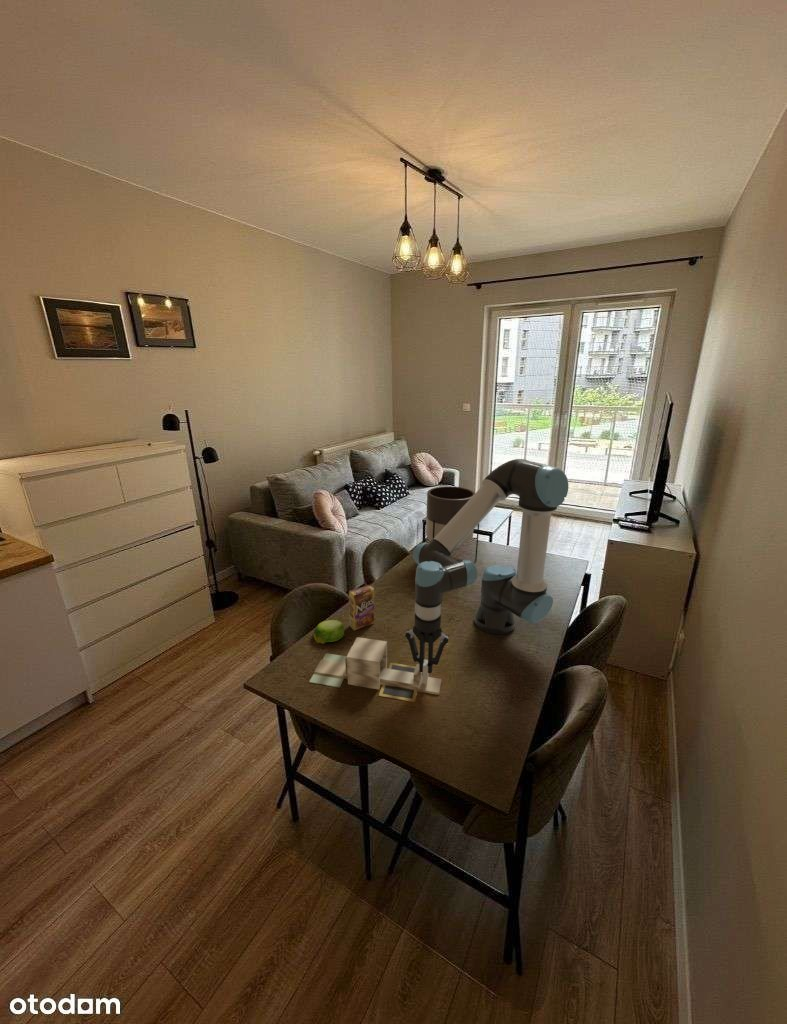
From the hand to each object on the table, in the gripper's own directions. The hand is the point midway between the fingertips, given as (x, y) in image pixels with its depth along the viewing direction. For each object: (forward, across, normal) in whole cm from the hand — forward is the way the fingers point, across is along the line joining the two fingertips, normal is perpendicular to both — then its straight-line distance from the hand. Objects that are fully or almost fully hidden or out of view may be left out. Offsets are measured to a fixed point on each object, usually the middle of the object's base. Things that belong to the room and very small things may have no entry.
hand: (425, 680), depth 128 cm
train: (+1, +14, 0) cm, 14 cm away
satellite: (+2, +15, 0) cm, 16 cm away
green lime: (+3, +38, -17) cm, 42 cm away
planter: (+2, +2, -90) cm, 90 cm away
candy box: (+2, +28, -26) cm, 39 cm away
